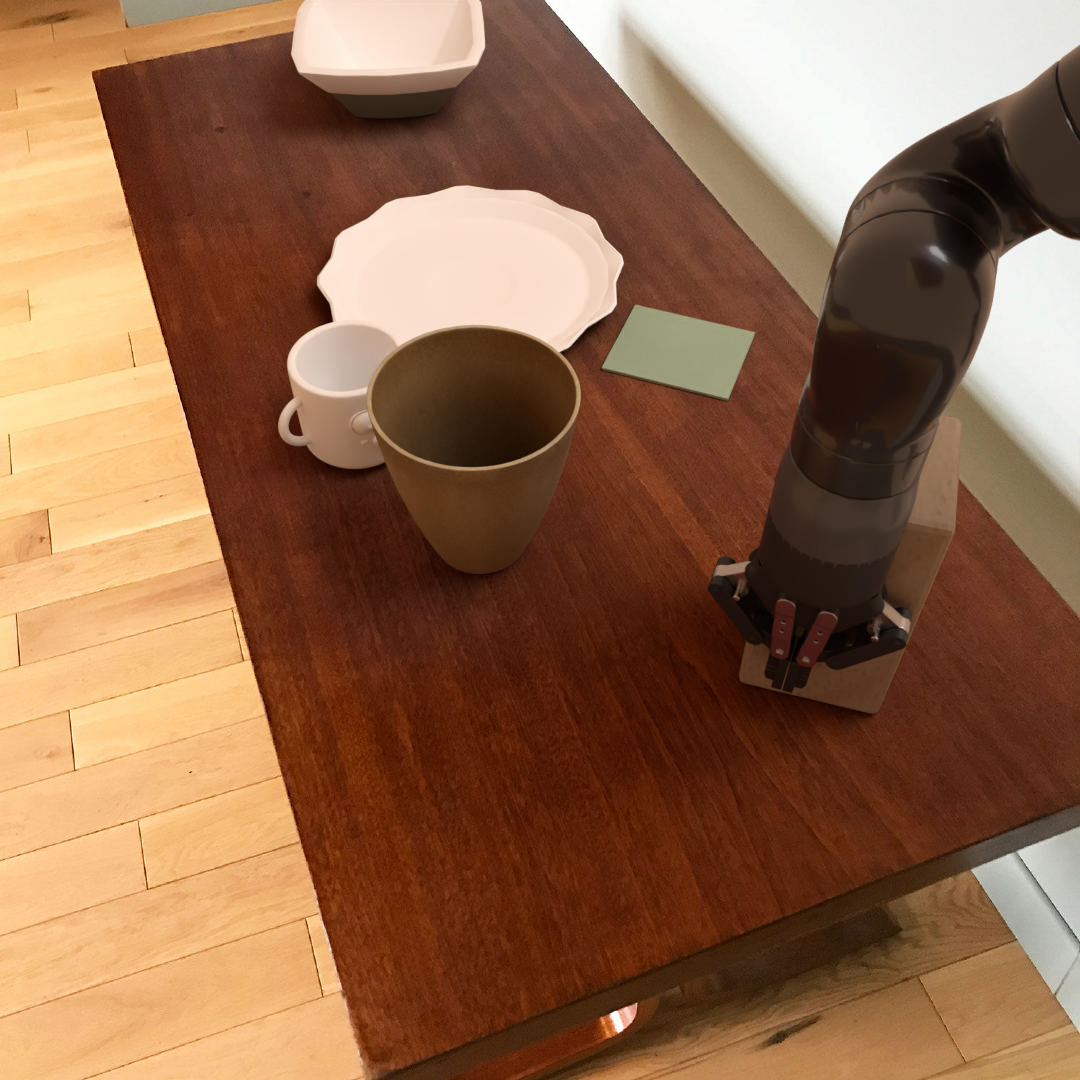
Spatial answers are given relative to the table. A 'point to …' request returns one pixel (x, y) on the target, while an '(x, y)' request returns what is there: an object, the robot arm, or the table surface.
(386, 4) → the bowl
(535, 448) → the plant pot
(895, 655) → the wooden block
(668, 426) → the table surface
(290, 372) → the mug
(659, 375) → the mat
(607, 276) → the plate
